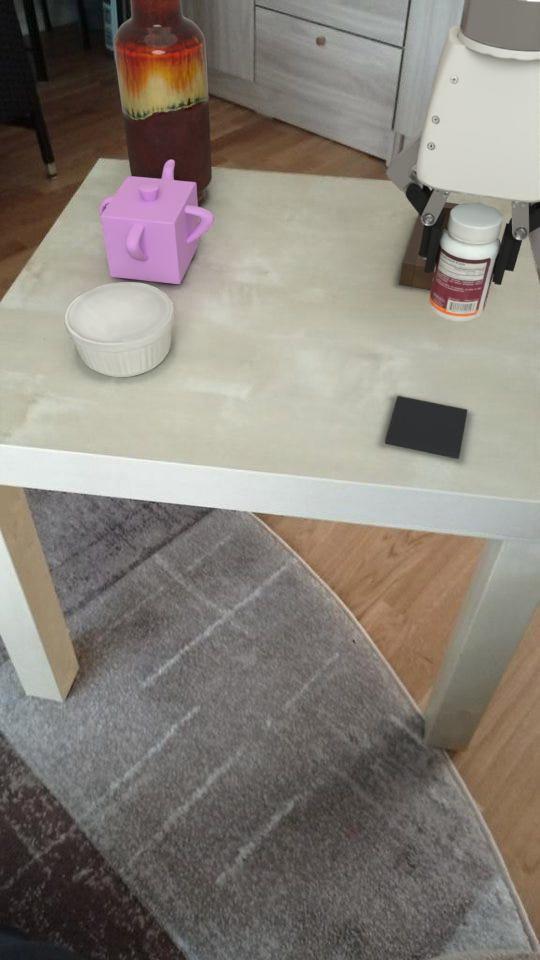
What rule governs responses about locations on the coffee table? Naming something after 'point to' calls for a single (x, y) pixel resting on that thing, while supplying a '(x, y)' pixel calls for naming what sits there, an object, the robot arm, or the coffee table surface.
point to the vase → (164, 93)
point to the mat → (427, 427)
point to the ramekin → (121, 327)
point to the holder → (412, 263)
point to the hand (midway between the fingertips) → (464, 267)
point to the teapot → (153, 227)
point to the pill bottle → (466, 262)
